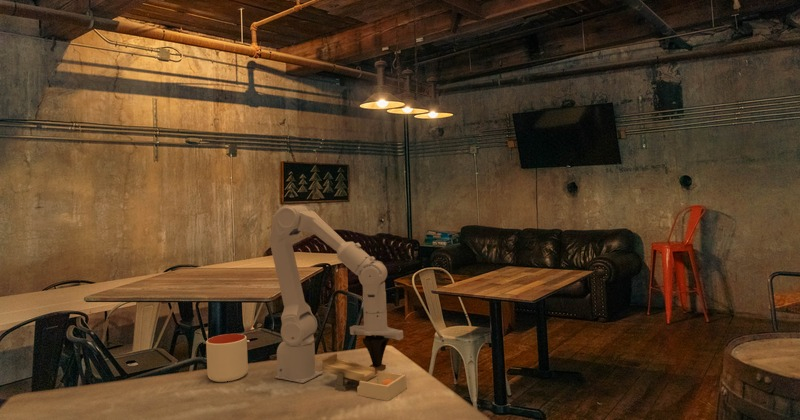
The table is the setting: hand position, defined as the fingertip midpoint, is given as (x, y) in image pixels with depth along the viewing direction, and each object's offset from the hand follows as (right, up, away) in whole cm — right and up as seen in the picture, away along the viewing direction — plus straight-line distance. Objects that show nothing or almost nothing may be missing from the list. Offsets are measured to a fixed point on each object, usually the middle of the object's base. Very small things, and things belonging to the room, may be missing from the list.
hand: (377, 365), depth 126 cm
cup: (-39, -5, +7) cm, 40 cm away
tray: (+1, -4, -8) cm, 9 cm away
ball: (+3, -2, -9) cm, 9 cm away
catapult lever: (-6, -1, -1) cm, 6 cm away
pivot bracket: (-7, -4, -3) cm, 8 cm away
